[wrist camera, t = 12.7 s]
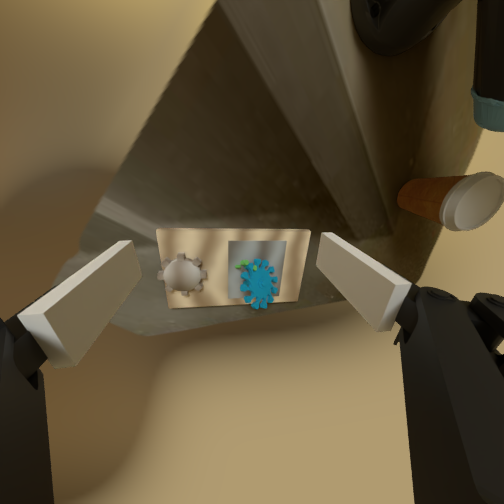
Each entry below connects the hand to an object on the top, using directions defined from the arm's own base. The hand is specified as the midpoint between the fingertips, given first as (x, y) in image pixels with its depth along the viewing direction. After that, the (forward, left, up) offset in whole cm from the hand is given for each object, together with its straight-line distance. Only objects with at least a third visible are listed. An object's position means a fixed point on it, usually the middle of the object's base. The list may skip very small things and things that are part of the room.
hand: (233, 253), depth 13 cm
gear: (-6, +15, -22) cm, 27 cm away
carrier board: (-2, +15, -24) cm, 28 cm away
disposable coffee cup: (-39, -2, -24) cm, 46 cm away
